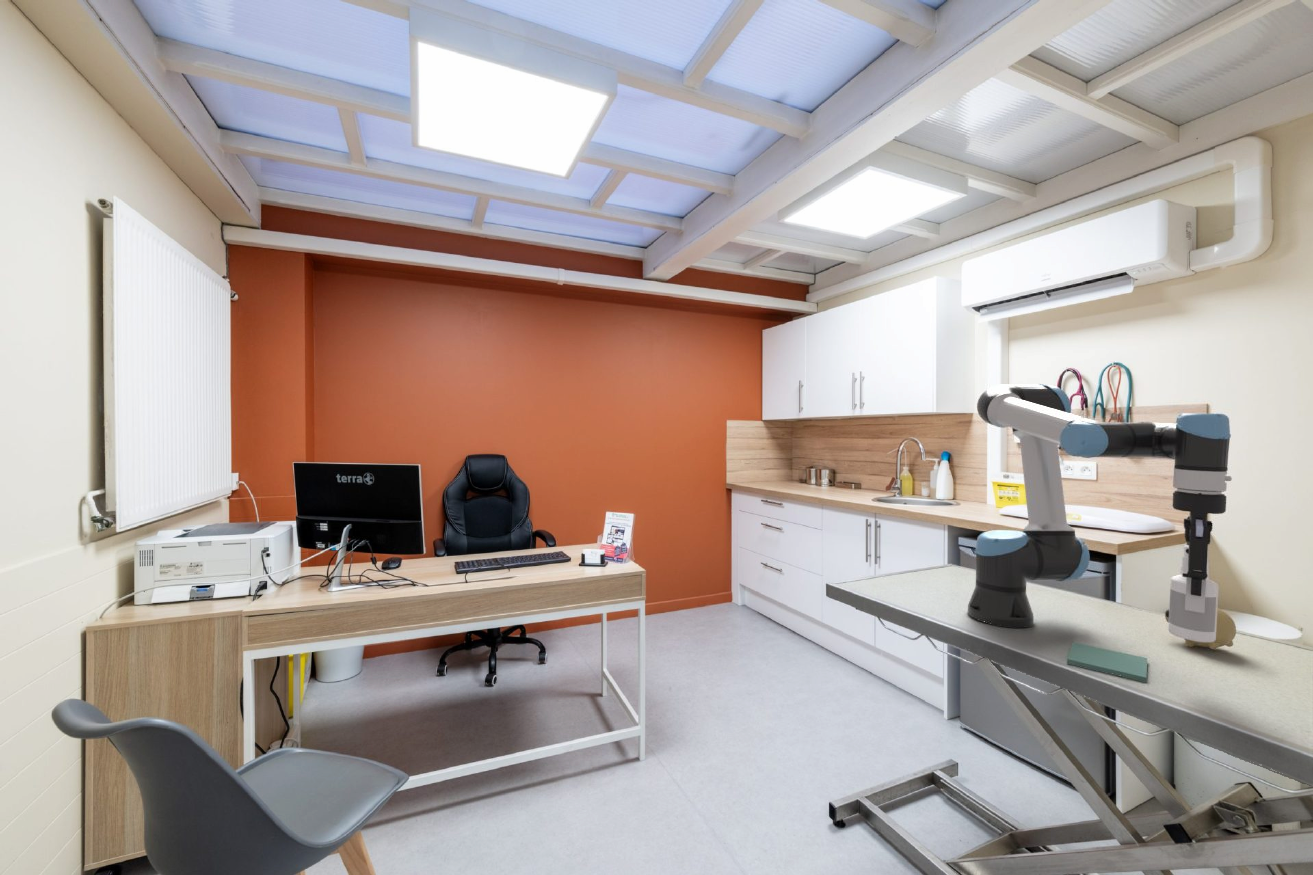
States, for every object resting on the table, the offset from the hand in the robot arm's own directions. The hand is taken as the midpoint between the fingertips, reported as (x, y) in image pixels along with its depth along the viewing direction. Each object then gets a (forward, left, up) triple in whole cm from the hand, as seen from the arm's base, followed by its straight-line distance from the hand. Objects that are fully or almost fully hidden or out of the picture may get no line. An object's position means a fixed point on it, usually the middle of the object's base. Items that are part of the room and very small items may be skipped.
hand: (1193, 605), depth 110 cm
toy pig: (+2, +31, -17) cm, 35 cm away
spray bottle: (0, 0, -6) cm, 6 cm away
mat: (-13, +3, -16) cm, 21 cm away
